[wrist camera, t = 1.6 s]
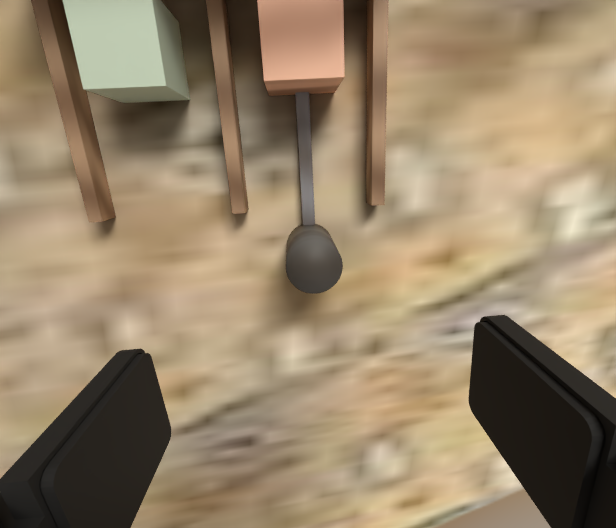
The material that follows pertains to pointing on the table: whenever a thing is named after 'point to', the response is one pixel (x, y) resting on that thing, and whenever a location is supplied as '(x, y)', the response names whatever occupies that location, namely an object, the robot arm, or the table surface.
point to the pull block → (305, 114)
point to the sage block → (128, 49)
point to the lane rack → (83, 131)
